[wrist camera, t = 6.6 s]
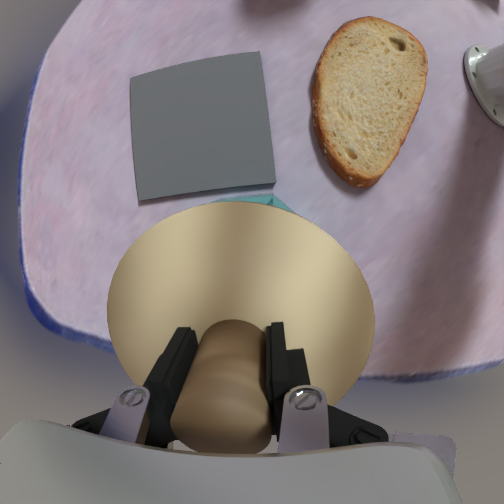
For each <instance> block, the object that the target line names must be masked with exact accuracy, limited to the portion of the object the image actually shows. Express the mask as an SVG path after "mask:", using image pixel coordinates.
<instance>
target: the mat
mask: <svg viewBox="0 0 504 504" xmlns="http://www.w3.org/2000/svg"><path fill="white" fill-rule="evenodd" d="M130 100H131V126H132V142H133V155H134V166H135V176H136V184H137V193H138V200H139V201H141V200H147V199H153V198H158V197H164V196H171V195H177V194H184V193H190V192H197V191H205V190H212V189H220V188H228V187H237V186H246V185H255V184H265V183H276V177H275V167H274V158H273V149H272V140H271V132H270V123H269V115H268V107H267V99H266V92H265V84H264V77H263V70H262V63H261V56H260V51H258V52H248V53H239V54H232V55H225V56H218V57H212V58H207V59H202V60H197V61H192V62H187V63H183V64H178V65H174V66H170V67H166V68H163V69H159V70H155V71H152V72H148V73H145V74H142V75H139V76H135V77H132V78H130Z"/></svg>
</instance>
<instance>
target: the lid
mask: <svg viewBox="0 0 504 504" xmlns="http://www.w3.org/2000/svg"><path fill="white" fill-rule="evenodd" d="M282 321H283V323H284V332H285V341H286V350H290V349H300V348H303V349H304V353H305V358H306V363H307V368H308V373H309V378H310V383H311V385H312V386H316V387H319V388H320V389H322V390H323V391H324V392H325V393H326V397H327V404H328V405H330V406H333V405H334V404H336V403H337V402H338V401H339V400H340V399H341V398H342V397H343V396H344V395H345V394H346V393H347V392H348V391H349V390H350V389H351V388H352V386H353V385H354V383H355V382H356V381H357V379H358V378H359V376H360V375H361V373H362V371H363V369H364V367H365V365H366V363H367V361H368V358H369V355H370V352H371V349H372V344H373V339H374V331H375V315H374V308H373V301H372V298H371V295H370V291H369V288H368V285H367V283H366V281H365V279H364V277H363V275H362V273H361V271H360V269H359V268H358V266H357V265H356V263H355V262H354V261H353V259H352V258H351V256H350V255H349V254H348V253H347V252H346V251H345V250H344V249H343V248H342V246H341V245H340V244H339V243H338V242H337V241H336V240H335V239H333V238H332V237H331V236H330V235H329V234H327V233H326V232H325V231H323V230H322V229H321V228H319V227H318V226H317V225H315V224H314V223H312V222H310V221H309V220H307V219H305V218H303V217H301V216H299V215H298V214H295V213H293V212H290V211H287V210H285V209H282V208H280V207H276V206H272V205H267V204H263V203H258V202H248V201H222V202H214V203H209V204H204V205H199V206H196V207H193V208H190V209H187V210H184V211H182V212H179V213H176V214H174V215H172V216H170V217H168V218H166V219H164V220H162V221H160V222H159V223H157V224H155V225H154V226H153V227H151V228H150V229H149V230H147V231H146V232H145V233H143V234H142V235H141V236H140V237H139V238H138V239H137V240H136V241H135V242H134V243H133V244H132V245H131V247H130V248H129V249H128V250H127V252H126V253H125V255H124V256H123V258H122V259H121V261H120V262H119V264H118V267H117V269H116V271H115V273H114V275H113V278H112V282H111V285H110V289H109V294H108V302H107V322H108V328H109V334H110V337H111V341H112V344H113V347H114V350H115V352H116V354H117V356H118V359H119V361H120V363H121V364H122V366H123V368H124V369H125V371H126V373H127V374H128V375H129V377H130V378H131V379H132V381H133V382H134V383H135V384H136V386H143V384H144V382H145V380H146V379H147V377H148V375H149V373H150V372H151V370H152V368H153V366H154V364H155V363H156V361H157V359H158V357H159V356H160V355H161V354H162V353H163V352H164V350H165V348H166V346H167V345H168V343H169V341H170V339H171V338H172V336H173V334H174V332H175V331H176V329H177V328H178V327H190V328H191V330H195V332H196V336H197V341H198V345H199V346H198V349H197V351H196V354H195V356H194V359H193V361H192V364H191V366H190V369H189V372H188V374H187V377H186V379H185V382H184V385H183V387H182V390H181V392H180V395H179V398H178V400H177V403H176V406H175V408H174V411H173V414H172V416H171V420H170V425H171V429H172V431H173V433H174V434H175V436H176V437H177V438H178V439H179V440H180V441H181V442H182V443H184V444H185V445H186V446H188V447H189V448H191V449H193V450H195V451H197V452H204V453H222V454H257V453H259V452H260V451H262V450H263V449H265V448H266V447H267V445H268V444H269V443H270V440H271V437H272V436H271V435H272V428H271V410H270V407H269V405H268V396H267V386H266V326H271V322H282Z"/></svg>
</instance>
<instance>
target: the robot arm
mask: <svg viewBox="0 0 504 504" xmlns="http://www.w3.org/2000/svg"><path fill="white" fill-rule="evenodd" d="M464 63H465V70H466V74H467V78H468V81H469V83H470V86H471V88H472V90H473V93H474V95H475V96H476V98H477V100H478V102H479V103H480V105H481V106H482V108H483V110H484V111H485V112H486V113H487V115H488V116H489V117H490V118H491V119H492V120H493V121H494V122H496V123H497V124H498V125H500V126H502V127H504V44H502V45H500V46H497V47H495V48H493V49H489V48H487V47H486V46H483V45H478V44H476V45H473V46H471V47H469V48H468V49H467V51H466V53H465V58H464ZM198 346H199V345H198V341H197V336H196V332H195V330H191V328H190V327H178V328H177V329H176V331H175V332H174V334H173V336H172V338H171V339H170V341H169V343H168V345H167V346H166V348H165V350H164V352H163V353H162V354H161V355H160V356H159V357H158V359H157V361H156V363H155V364H154V366H153V368H152V370H151V372H150V373H149V375H148V377H147V379H146V380H145V382H144V384H143V386H130V387H127V388H125V389H123V390H121V391H120V392H119V393H118V395H117V396H116V398H115V400H114V403H113V405H112V407H111V408H109V409H107V410H104V411H102V412H99V413H96V414H94V415H91V416H88V417H86V418H83V419H80V420H78V421H76V422H75V423H74V424H73V425H72V426H71V427H70V425H62V424H59V423H54V422H50V421H42V420H26V421H22V422H19V423H17V424H16V425H15V426H14V427H13V428H12V429H11V430H9V431H8V433H7V434H6V435H5V436H4V437H3V438H2V439H1V441H0V504H464V502H463V500H462V497H461V495H460V493H459V490H458V488H457V486H456V484H455V482H454V480H453V475H454V467H455V458H456V444H455V442H454V441H453V439H452V438H450V437H448V436H445V435H430V434H415V433H403V432H396V433H395V434H387V432H386V431H385V430H384V429H383V428H382V427H380V426H378V425H375V424H373V423H370V422H368V421H366V420H363V419H360V418H358V417H356V416H353V415H351V414H349V413H346V412H344V411H342V410H339V409H337V408H335V407H333V406H330V405H328V404H327V397H326V393H325V392H324V391H323V390H322V389H320V388H319V387H316V386H312V385H311V383H310V378H309V373H308V368H307V363H306V358H305V353H304V349H303V348H300V349H290V350H286V341H285V332H284V323H283V321H282V322H271V326H266V386H267V396H268V405H269V407H270V410H271V428H272V435H277V442H279V445H278V453H269V454H222V453H204V452H192V451H181V450H173V441H174V440H179V439H178V438H177V437H176V436H175V434H174V433H173V431H172V429H171V425H170V420H171V416H172V414H173V411H174V408H175V406H176V403H177V400H178V398H179V395H180V392H181V390H182V387H183V385H184V382H185V379H186V377H187V374H188V372H189V369H190V366H191V364H192V361H193V359H194V356H195V354H196V351H197V349H198Z"/></svg>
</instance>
